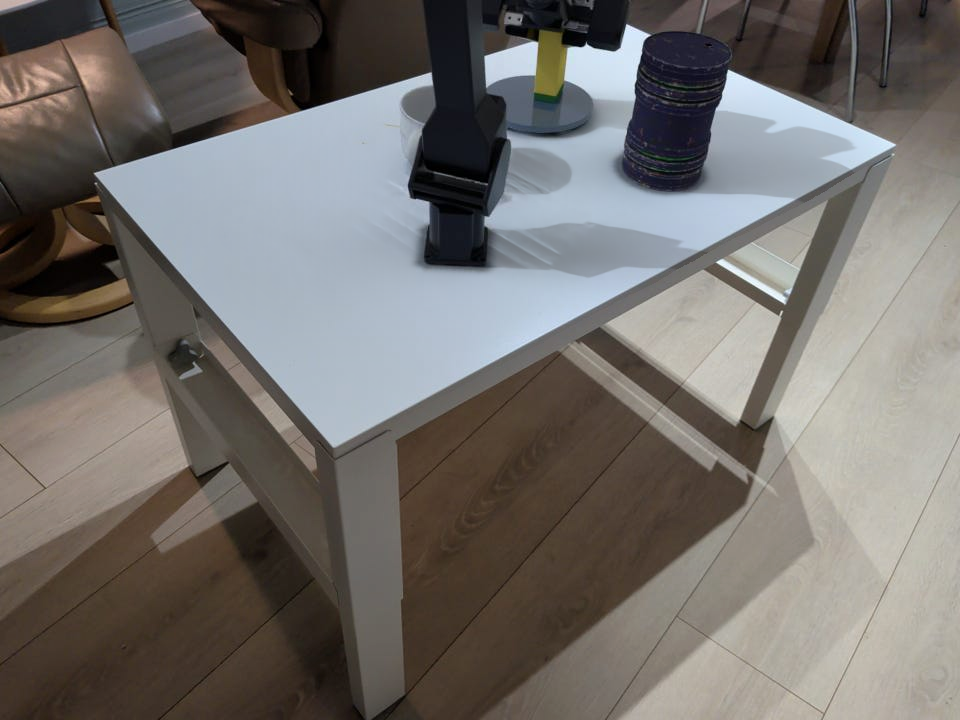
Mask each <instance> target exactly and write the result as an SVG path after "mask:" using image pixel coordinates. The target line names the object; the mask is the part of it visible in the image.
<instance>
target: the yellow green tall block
mask: <svg viewBox="0 0 960 720" xmlns="http://www.w3.org/2000/svg"><path fill="white" fill-rule="evenodd" d="M564 31H565V28H563V29H562V33H557V32H551V31H544V30H539V40H538V43H537V54H536V66H535V75H536V76H535V89H534V100H539V101H544V102H550V103H556V101H557V99H558V97H559V95H560V94H561V92H562V90H563V87H564V80H565V77H566V67H567V60H568V58H567V57H568V51H569V50H568V49H569V48H565V47H563V45H562V44H561V43H562V39H563V35H564Z"/></svg>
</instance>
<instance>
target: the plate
mask: <svg viewBox="0 0 960 720" xmlns="http://www.w3.org/2000/svg"><path fill="white" fill-rule="evenodd" d="M535 76H536V74H534V75H533V74H528V75H516V76H509V77H505V78H502V79H498V80H497V81H494V82H492V83H491V84H489V85H488V86H486V90H487V93H488V94H493V95H497V96H502V97H503V98H504V100H505V102H506V105H507V107H506V122H507V126H508V128H510V129H513V130H517V131H520V132H521V131H522V132H528V133H540V134H541V133H542V134H543V133H544V134H545V133H546V134H547V133H558V132H565V131H570V130H572V129H575V128H578V127H580V126H582V125H584V124H585V123H586V122H588V120H589V119H590V118H591V117H592V115H593V113H594V101H593V98H592V96H591V95H590V94H589V93H588V92H587V91H586V90H585V89H584V88H582V87H581V86H579V85H576V84H575V83H572V81H567V80H565V79H564V87H563V90H562V92H561V94H560V95H559V97H558V99H557V101H556V103H550V102H544V101H539V100H534V89H535Z"/></svg>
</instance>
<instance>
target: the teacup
mask: <svg viewBox="0 0 960 720" xmlns="http://www.w3.org/2000/svg"><path fill="white" fill-rule="evenodd" d="M398 106H399V110H400V116H399V117H400V118H399V119H400V120H399V128H400V129H399V134H400V135H399V136H400V146H401V149H402V153H403V155H404V158H405V159H406V160H407V162H408V164H409V165H410V166H411V167H413V164H414V160H415V156H416V151H417V147H418V142H419V138H420V136H421V135H422V129H423V127H424V125H425V123H426V121H427V120H428V118H429V116H430V114H431V113H432V111H433V109H434V107H435V98H434V90H433V84H428V85H421V86H417V87H415V88H412V89H410V90H409V91H407V92H405V93H404V94H403V95H402V97H401V98H400V100H399V105H398ZM433 173H436V174H441V175H445V176H449V177H454V178H458V179H459V177H455V176H451V175H446V174H442V173H437V172H433Z"/></svg>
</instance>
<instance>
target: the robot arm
mask: <svg viewBox="0 0 960 720" xmlns="http://www.w3.org/2000/svg"><path fill="white" fill-rule="evenodd" d="M421 2H422V11H423V18H424V26H425V35H426V41H427V50H428V58H429V65H430V74H431V81H432V82H431V83H432V85H433V90H434V98H435V107H434V109H433V111H432V113H431V114H430V116H429V118H428V120H427V121H426V123H425V125H424V127H423V129H422V135H421V136H420V138H419V142H418V147H417V151H416V156H415V160H414V164H413V166H411V172H410V175H409V178H408V181H407V191H408V194H409V198H410V199H411V200H419V201H423V202H427V203H428V215H429V224H428V225H427V228H426V229H427V230H426V238H425V244H424V251H423V262H424V263H426V264H439V265H458V266H459V265H460V266H479V267H483V266H486V265H487V260H488V240H489V239H488V238H489V228H488V227H487V226H485V225H486V224H485V222H486V217H487V218H490V216H491V215H492V213H493V212H494V210H495V209H496V207H497V205H498V204H499V202H500V201H501V199H502V198H503V196H504V193H505V188H506V182H507V178H508V177H507V176H508V172H509V171H508V170H509V165H510V159H511V153H512V141H511V139H510V138H508V130H509V127H508V126H507V122H506V107H507V105H506V102H505V100H504V98H503V97H502V96H497V95H493V94H488V93H487V90H486V88H487V77H486V75H487V74H486V59H485V57H486V55H485V42H484V31H487V32H491V33H495V32H498V31H500V29H501V22H500V20H501V17H502V13H503V11H505V12H504V17H503V24H504V25H505V27H504V33H505V34H506V36H509V37H514V38H519V39H522V40H526V41H530V42H534V43H537V44H538V40H539V30H544V31H551V32H557V33H562V29H563V28H565V31H564V35H563V39H562V43H561V44H562V45H563V47H565V48H568V49H570V48H580V49H581V48H585V46H589V47H591V48H592V49H594V50H601V51H607V52H613V53H614V52H615V53H616V52H617V51H619V50H620V49H621V48H622V44H623V40H624V36H625V32H626V27H627V24H628V20H629V16H630V12H631V8H632V0H422V1H421ZM433 172H437V173H442V174H446V175H451V176H455V177H458V178H454V177H449V176H445V175H441V174H436V173H433Z"/></svg>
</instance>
